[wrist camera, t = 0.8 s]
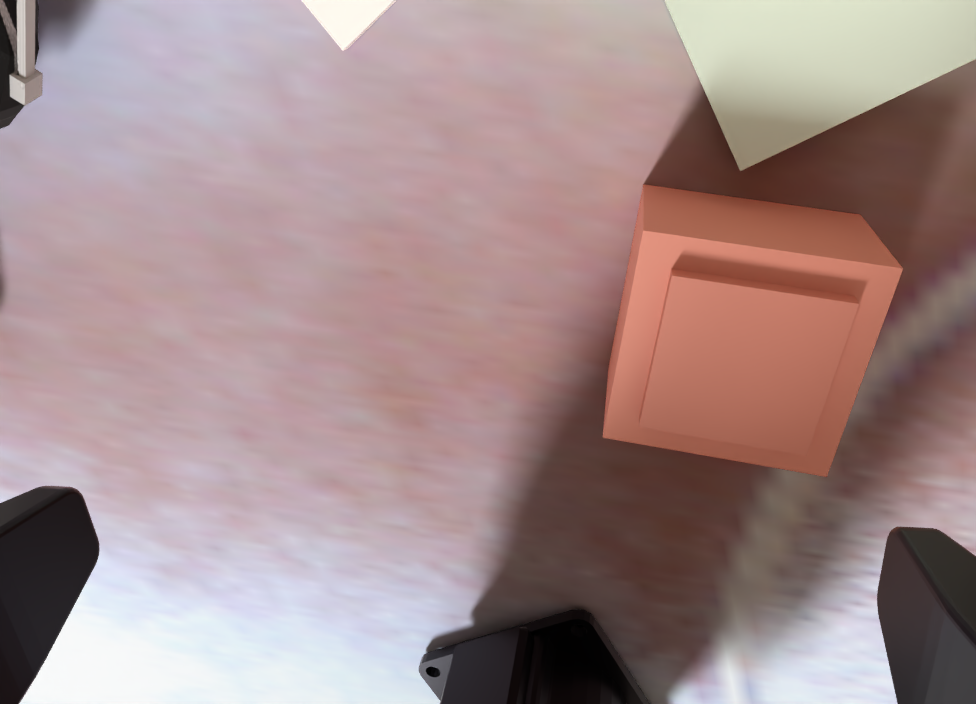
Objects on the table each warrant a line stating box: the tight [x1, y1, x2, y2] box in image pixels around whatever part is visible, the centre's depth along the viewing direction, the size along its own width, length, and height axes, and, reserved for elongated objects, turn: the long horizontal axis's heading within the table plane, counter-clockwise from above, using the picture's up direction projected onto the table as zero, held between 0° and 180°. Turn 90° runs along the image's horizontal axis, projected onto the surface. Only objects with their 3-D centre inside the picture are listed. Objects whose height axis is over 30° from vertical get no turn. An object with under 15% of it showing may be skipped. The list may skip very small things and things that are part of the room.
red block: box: [603, 184, 903, 477], centre depth 18 cm, size 5×5×4 cm
